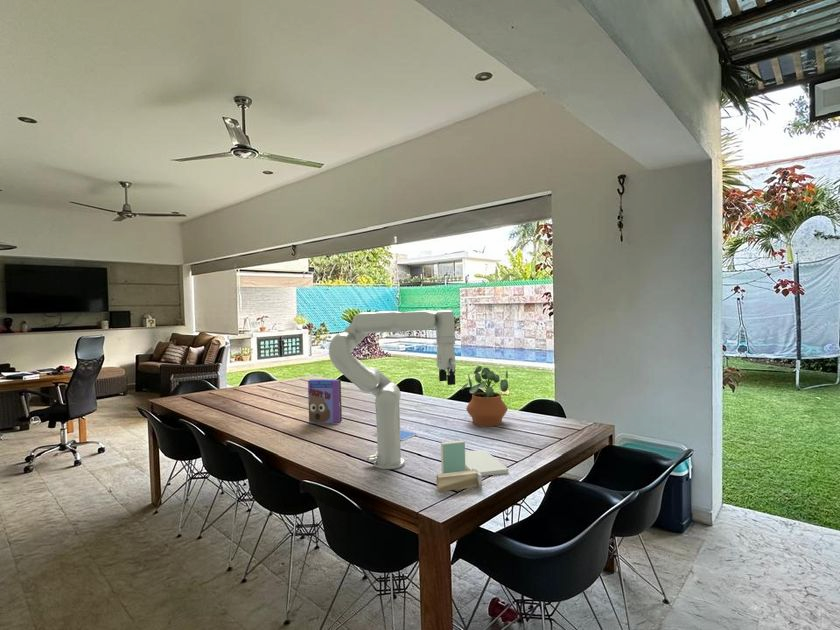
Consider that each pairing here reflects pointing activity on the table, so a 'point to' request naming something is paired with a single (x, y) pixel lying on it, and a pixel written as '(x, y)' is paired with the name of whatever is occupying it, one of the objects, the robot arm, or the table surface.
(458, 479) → the beige upright post
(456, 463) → the tile
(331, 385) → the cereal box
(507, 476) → the table surface
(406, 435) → the tablet computer
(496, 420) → the potted plant
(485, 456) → the white rectangular board
